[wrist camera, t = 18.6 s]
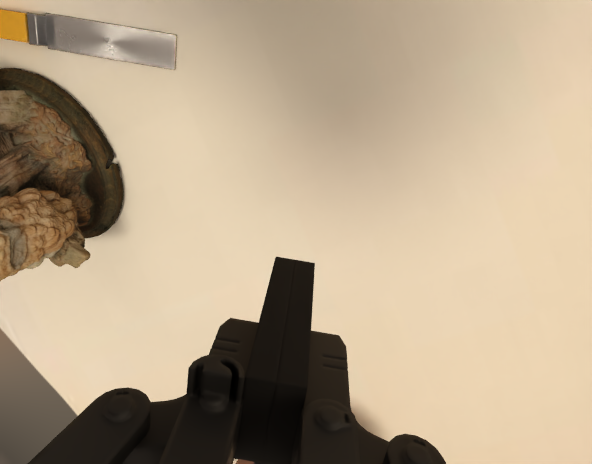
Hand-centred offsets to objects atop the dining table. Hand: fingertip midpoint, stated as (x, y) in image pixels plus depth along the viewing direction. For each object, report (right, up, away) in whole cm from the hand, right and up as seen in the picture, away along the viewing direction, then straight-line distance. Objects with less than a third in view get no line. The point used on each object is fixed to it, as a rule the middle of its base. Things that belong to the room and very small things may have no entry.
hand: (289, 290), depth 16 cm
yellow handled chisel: (-20, +19, +20) cm, 34 cm away
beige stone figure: (-23, +9, +25) cm, 35 cm away
